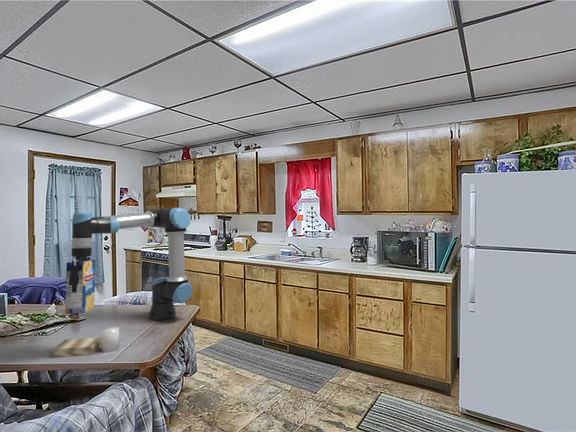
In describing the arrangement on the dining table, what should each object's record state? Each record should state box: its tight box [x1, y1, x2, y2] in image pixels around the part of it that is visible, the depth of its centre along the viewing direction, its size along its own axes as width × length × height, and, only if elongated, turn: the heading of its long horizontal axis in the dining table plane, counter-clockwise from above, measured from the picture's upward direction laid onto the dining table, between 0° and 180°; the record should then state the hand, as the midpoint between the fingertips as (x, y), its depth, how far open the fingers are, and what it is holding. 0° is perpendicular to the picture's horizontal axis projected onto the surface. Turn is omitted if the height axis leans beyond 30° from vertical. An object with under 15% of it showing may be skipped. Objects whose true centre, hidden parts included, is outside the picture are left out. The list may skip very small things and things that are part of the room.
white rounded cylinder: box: [100, 326, 120, 353], centre depth 148 cm, size 7×7×9 cm
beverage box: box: [64, 259, 96, 315], centre depth 146 cm, size 7×11×22 cm, turn 7°
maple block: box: [52, 337, 101, 358], centre depth 145 cm, size 15×11×4 cm
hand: (80, 296), depth 146 cm, fingers closed on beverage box, 11 cm apart
